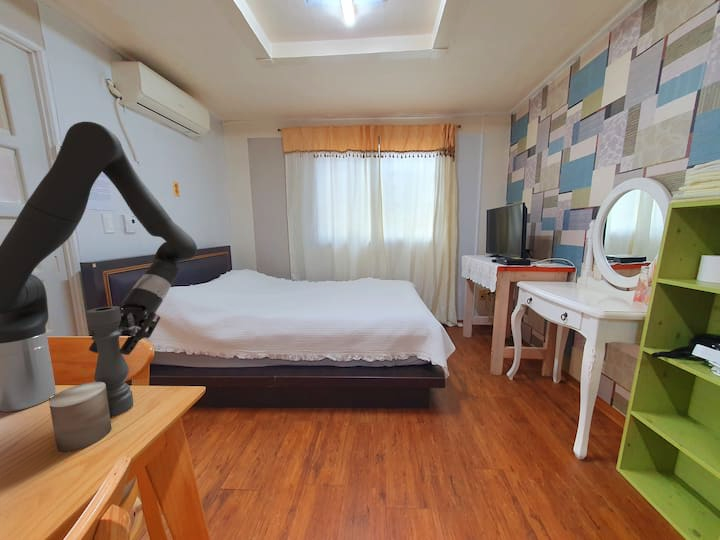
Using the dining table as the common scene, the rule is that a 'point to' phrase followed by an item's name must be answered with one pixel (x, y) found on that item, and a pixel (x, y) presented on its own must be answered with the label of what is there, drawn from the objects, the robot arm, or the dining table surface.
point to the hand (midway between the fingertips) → (108, 352)
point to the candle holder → (110, 358)
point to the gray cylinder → (80, 416)
